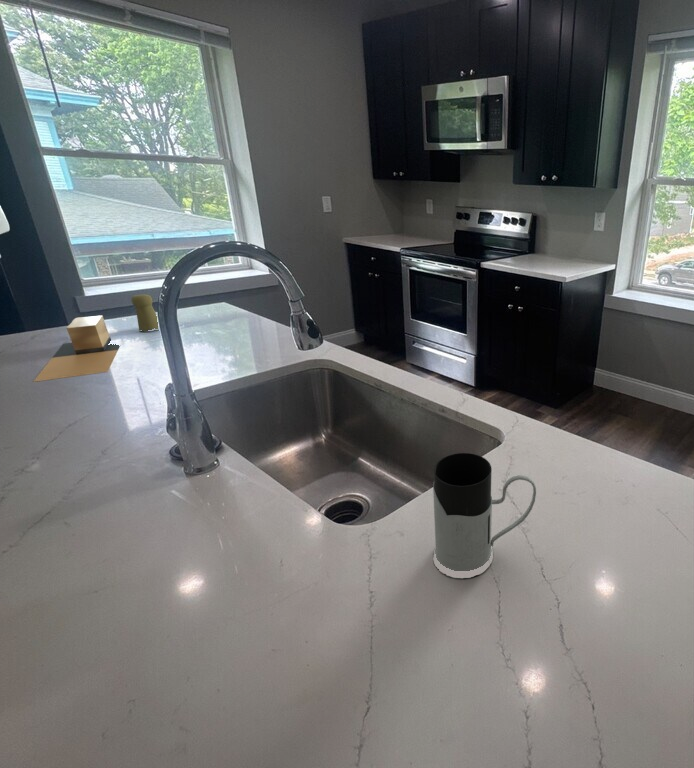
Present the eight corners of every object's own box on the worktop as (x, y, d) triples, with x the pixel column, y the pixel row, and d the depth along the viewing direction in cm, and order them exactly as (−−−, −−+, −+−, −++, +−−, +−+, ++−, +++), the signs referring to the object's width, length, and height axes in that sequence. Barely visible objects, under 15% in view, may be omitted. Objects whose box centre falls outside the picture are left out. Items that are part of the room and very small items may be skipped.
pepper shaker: (134, 331, 145) (122, 296, 141) (150, 325, 151) (140, 291, 146) (151, 333, 145) (140, 298, 140) (167, 327, 150) (157, 293, 145)
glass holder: (435, 533, 71) (432, 450, 64) (528, 532, 72) (534, 450, 65) (429, 580, 63) (425, 490, 56) (534, 578, 64) (541, 489, 57)
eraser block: (76, 354, 127) (66, 328, 124) (84, 342, 135) (75, 317, 132) (104, 351, 130) (95, 325, 127) (111, 339, 138) (102, 315, 134)
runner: (33, 382, 111) (33, 381, 111) (63, 344, 134) (63, 343, 134) (107, 372, 118) (107, 371, 118) (124, 337, 140) (124, 336, 140)
